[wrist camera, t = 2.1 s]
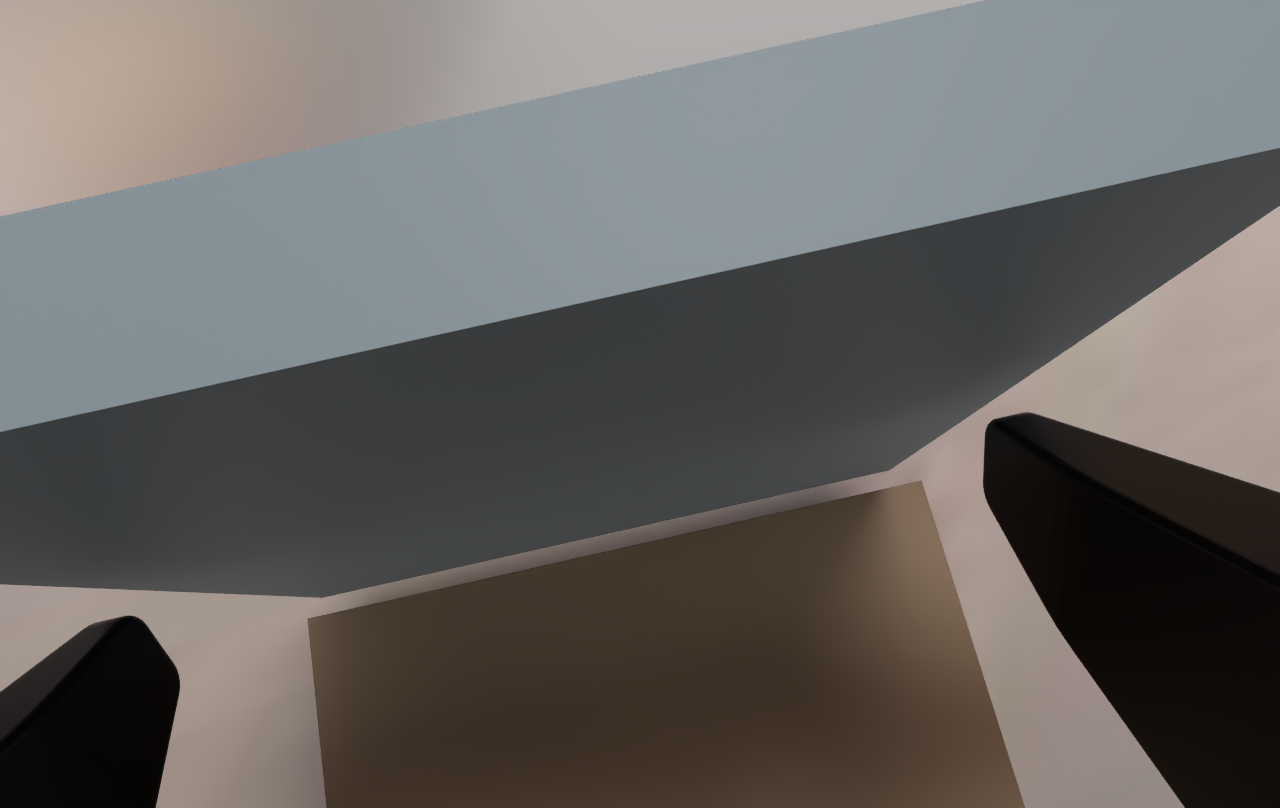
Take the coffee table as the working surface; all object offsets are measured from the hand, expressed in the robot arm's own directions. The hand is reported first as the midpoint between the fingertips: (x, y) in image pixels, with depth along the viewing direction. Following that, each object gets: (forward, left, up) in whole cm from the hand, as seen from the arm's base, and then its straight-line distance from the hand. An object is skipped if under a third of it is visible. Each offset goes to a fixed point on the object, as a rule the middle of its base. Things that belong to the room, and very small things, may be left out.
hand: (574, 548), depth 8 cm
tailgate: (+1, -1, -5) cm, 6 cm away
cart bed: (-3, +2, -8) cm, 8 cm away
